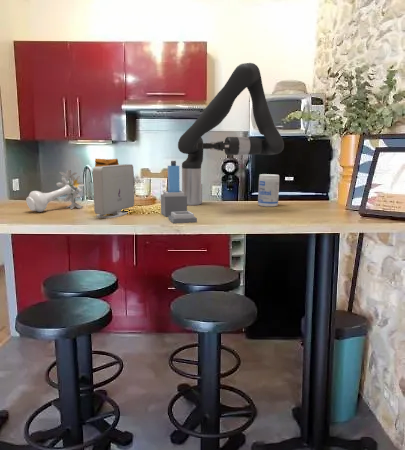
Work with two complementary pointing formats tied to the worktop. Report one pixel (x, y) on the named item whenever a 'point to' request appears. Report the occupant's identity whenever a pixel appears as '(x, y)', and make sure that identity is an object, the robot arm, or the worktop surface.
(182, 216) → the plate
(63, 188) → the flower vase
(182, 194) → the grey block
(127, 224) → the worktop surface
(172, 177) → the blue plug
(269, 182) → the supplement tub
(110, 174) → the network device
